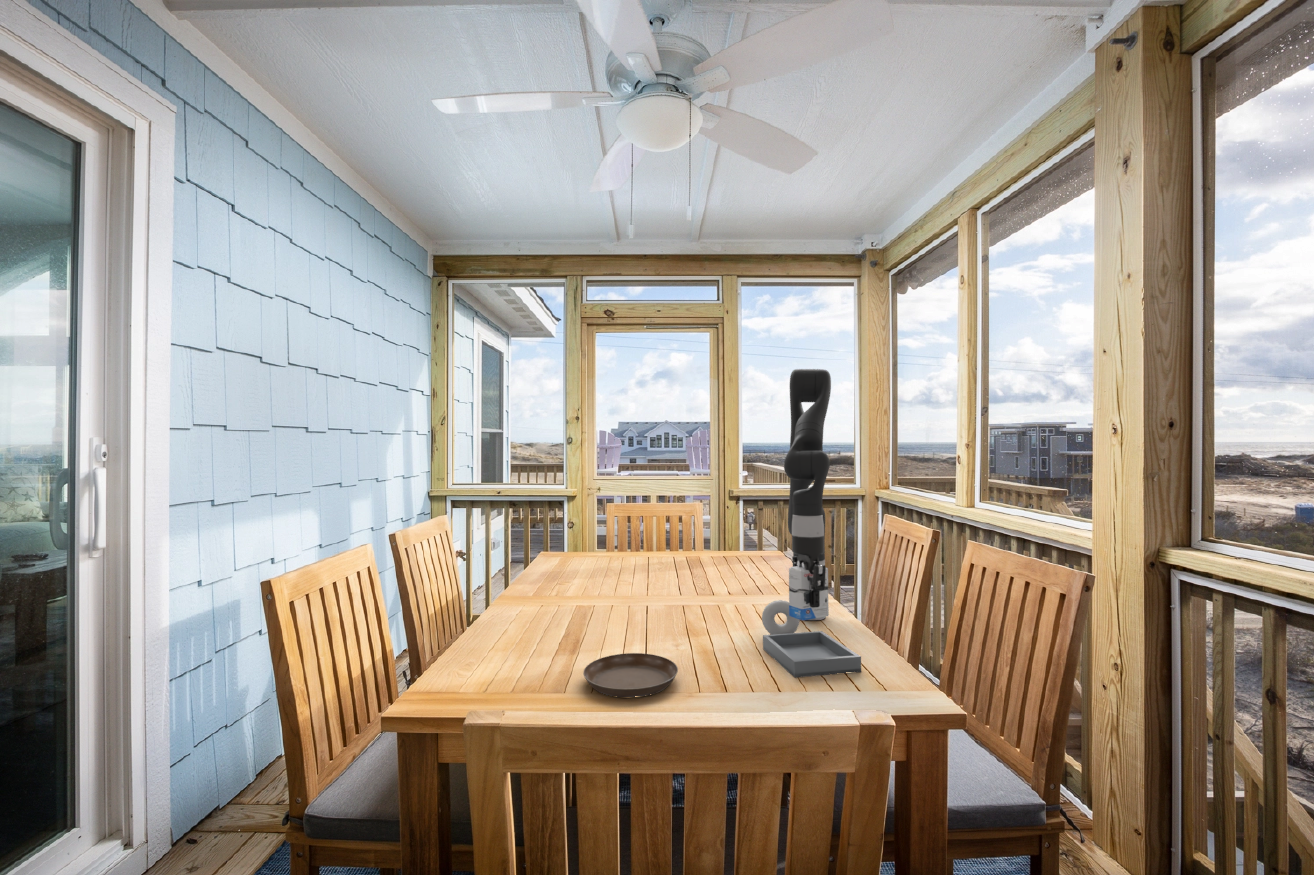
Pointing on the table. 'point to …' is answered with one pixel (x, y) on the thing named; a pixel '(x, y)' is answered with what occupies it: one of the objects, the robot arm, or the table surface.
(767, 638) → the tray
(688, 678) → the table surface
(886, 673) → the table surface
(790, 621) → the donut
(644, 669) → the plant saucer
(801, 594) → the ink box
